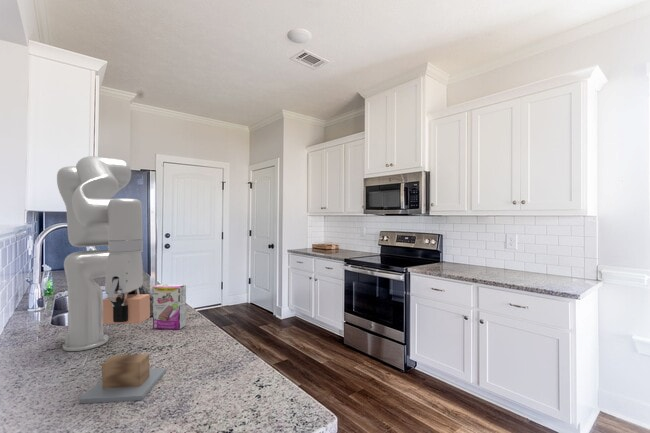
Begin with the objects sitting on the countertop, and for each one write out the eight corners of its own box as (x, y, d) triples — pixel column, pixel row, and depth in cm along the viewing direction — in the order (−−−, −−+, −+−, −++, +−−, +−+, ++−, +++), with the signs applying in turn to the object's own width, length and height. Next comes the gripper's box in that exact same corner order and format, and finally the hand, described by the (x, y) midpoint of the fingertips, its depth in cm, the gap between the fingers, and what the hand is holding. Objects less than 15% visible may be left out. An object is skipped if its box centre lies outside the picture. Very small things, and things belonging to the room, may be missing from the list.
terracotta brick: (102, 323, 81) (102, 299, 81) (115, 317, 86) (115, 294, 86) (139, 323, 81) (139, 299, 81) (150, 317, 86) (149, 294, 86)
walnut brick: (102, 388, 81) (101, 363, 81) (113, 378, 86) (113, 355, 86) (140, 386, 81) (140, 362, 81) (149, 376, 86) (149, 353, 86)
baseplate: (79, 403, 76) (79, 399, 76) (113, 374, 90) (113, 370, 90) (142, 400, 77) (142, 395, 77) (166, 371, 91) (166, 368, 91)
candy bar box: (152, 329, 125) (151, 286, 125) (159, 325, 130) (159, 283, 130) (179, 330, 124) (179, 287, 124) (186, 325, 129) (186, 284, 129)
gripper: (127, 244, 92) (128, 309, 92) (89, 251, 75) (90, 330, 75) (155, 243, 92) (156, 308, 93) (123, 250, 75) (125, 329, 76)
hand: (126, 317), depth 84 cm, fingers closed on terracotta brick, 5 cm apart
